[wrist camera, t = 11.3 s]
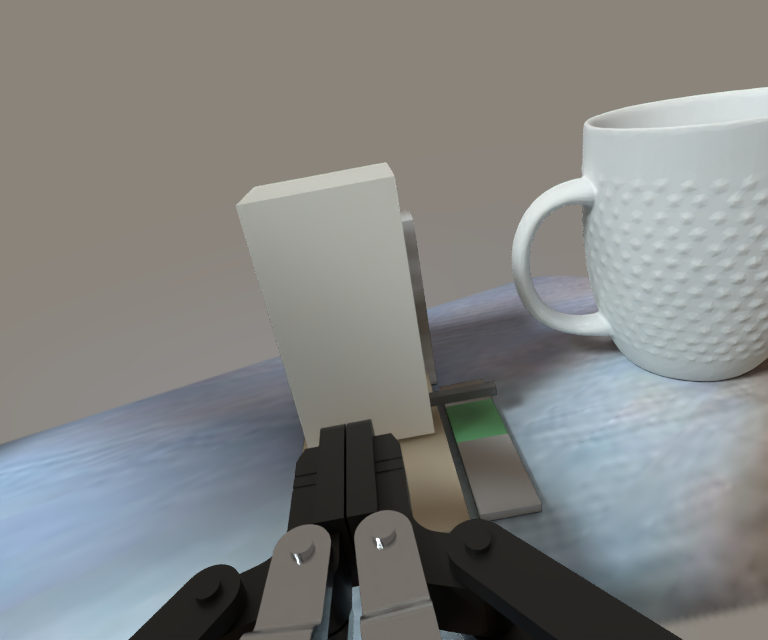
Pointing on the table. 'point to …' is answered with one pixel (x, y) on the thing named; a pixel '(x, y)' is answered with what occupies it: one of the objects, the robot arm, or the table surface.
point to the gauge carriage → (343, 301)
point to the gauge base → (459, 443)
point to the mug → (670, 234)
